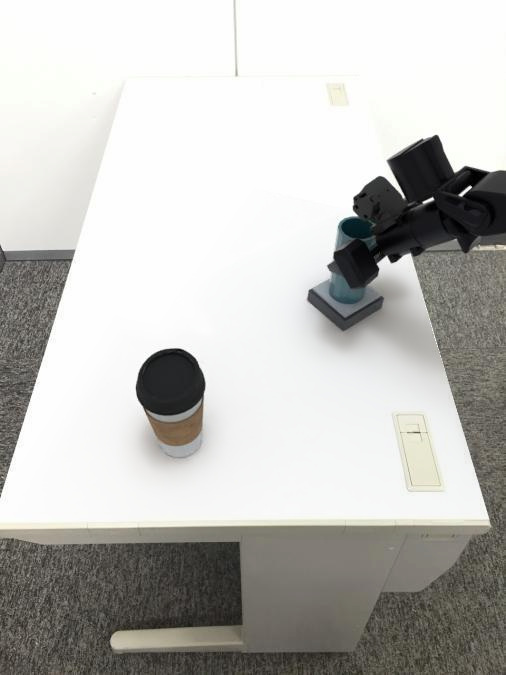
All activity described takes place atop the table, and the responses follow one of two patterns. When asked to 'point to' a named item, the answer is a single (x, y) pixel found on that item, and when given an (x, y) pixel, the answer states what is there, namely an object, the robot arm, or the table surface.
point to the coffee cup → (173, 399)
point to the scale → (344, 305)
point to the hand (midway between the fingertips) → (346, 253)
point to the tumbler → (345, 232)
